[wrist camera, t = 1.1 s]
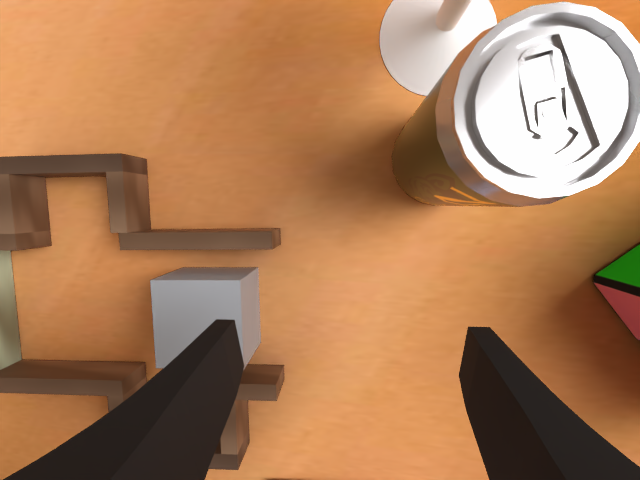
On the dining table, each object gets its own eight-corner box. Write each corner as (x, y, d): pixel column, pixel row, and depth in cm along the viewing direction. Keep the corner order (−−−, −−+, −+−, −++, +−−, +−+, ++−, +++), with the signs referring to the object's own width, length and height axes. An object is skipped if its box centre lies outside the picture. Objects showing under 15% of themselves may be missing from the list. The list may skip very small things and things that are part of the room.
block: (261, 341, 23) (243, 370, 19) (188, 340, 24) (155, 368, 20) (258, 267, 23) (240, 280, 19) (184, 267, 23) (150, 280, 19)
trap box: (285, 443, 24) (278, 471, 21) (16, 433, 25) (-20, 458, 23) (278, 155, 22) (269, 149, 19) (-13, 163, 23) (-56, 158, 21)
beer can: (380, 127, 21) (424, 28, 9) (471, 102, 20) (642, -38, 9) (401, 214, 21) (468, 228, 10) (490, 192, 21) (679, 177, 9)
